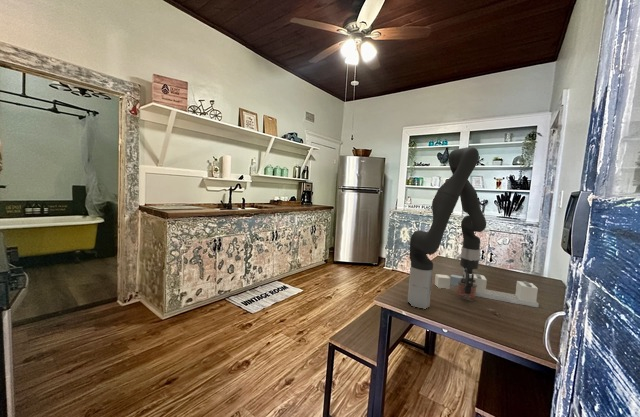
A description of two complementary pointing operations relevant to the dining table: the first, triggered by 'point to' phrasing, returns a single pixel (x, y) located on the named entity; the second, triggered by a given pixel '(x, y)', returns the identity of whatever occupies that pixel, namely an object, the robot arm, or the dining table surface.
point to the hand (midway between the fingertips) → (466, 290)
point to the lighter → (461, 290)
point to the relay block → (442, 281)
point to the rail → (505, 297)
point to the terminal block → (455, 280)
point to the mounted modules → (523, 289)
